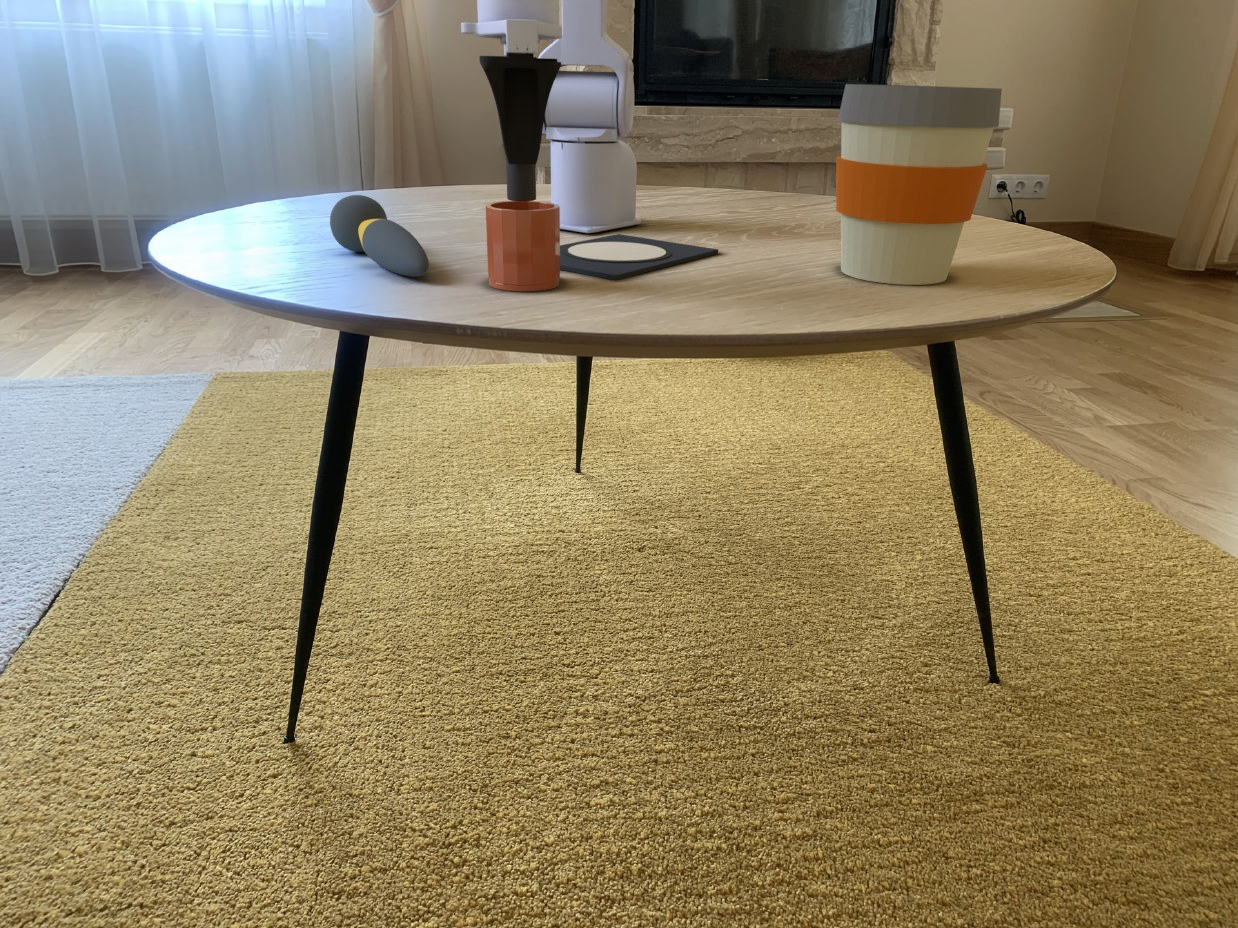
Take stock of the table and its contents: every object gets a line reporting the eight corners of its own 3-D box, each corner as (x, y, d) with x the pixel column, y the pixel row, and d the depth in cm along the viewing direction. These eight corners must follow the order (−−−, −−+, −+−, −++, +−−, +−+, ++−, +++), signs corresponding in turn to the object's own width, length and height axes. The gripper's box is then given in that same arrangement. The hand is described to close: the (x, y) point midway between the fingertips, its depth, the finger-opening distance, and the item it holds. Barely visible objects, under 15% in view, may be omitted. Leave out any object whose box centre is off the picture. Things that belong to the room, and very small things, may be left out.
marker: (521, 196, 68) (518, 70, 64) (543, 199, 66) (541, 70, 63) (500, 199, 66) (496, 69, 62) (522, 202, 65) (519, 70, 61)
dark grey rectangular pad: (618, 238, 89) (618, 232, 89) (718, 253, 82) (718, 247, 82) (508, 260, 77) (508, 253, 77) (615, 280, 71) (615, 273, 70)
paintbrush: (467, 279, 70) (463, 215, 68) (409, 286, 67) (404, 220, 65) (367, 241, 84) (361, 188, 82) (316, 246, 81) (309, 191, 79)
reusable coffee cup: (994, 290, 70) (1035, 90, 64) (842, 288, 70) (869, 85, 64) (935, 260, 82) (965, 87, 76) (804, 258, 81) (824, 83, 75)
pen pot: (522, 273, 72) (521, 198, 70) (574, 283, 69) (574, 205, 67) (473, 284, 68) (470, 205, 66) (525, 295, 65) (524, 213, 63)
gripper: (461, -38, 65) (469, 153, 71) (453, -65, 52) (464, 171, 58) (555, -34, 66) (556, 154, 72) (570, -59, 53) (570, 172, 59)
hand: (521, 162), depth 65 cm, fingers closed on marker, 2 cm apart
